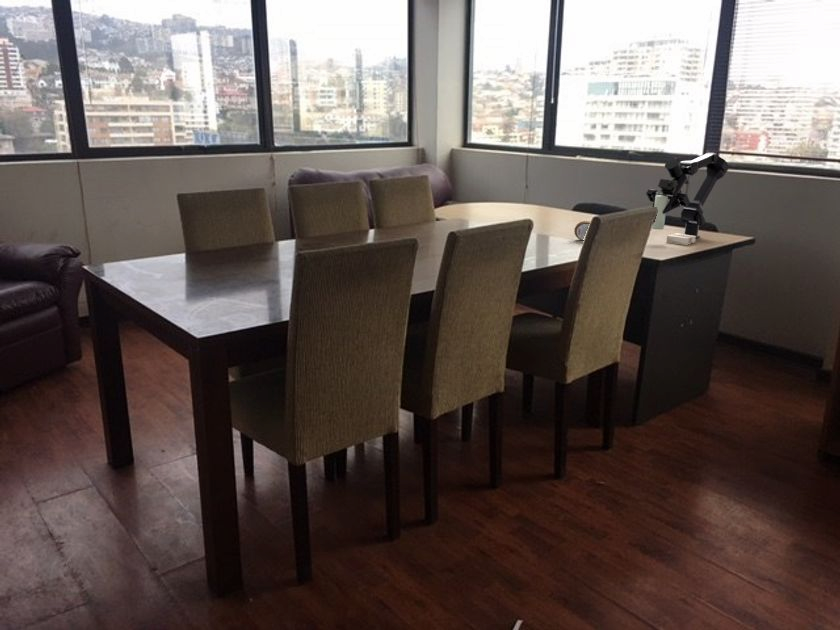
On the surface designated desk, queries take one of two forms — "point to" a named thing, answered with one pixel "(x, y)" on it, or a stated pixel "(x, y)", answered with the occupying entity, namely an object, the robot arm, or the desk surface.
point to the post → (660, 211)
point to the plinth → (680, 239)
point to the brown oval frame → (581, 229)
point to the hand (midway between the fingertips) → (657, 212)
